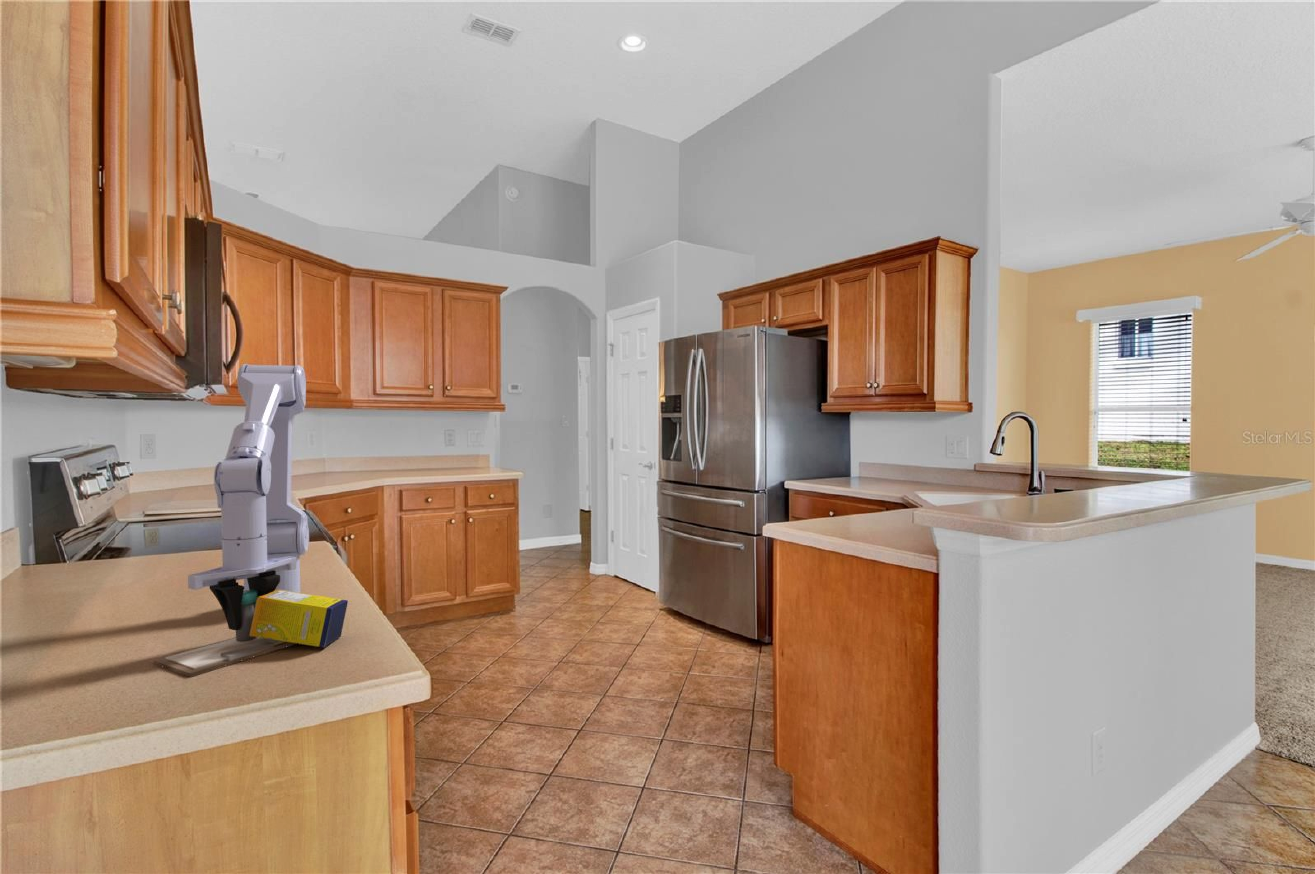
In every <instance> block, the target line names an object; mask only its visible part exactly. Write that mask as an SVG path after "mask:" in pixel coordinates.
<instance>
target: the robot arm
mask: <svg viewBox="0 0 1315 874" xmlns="http://www.w3.org/2000/svg"><path fill="white" fill-rule="evenodd" d="M305 372H306V371H305V369H304V368H303V367H302V366H301V365H300V364H295V365H276V364H274V365H271V364H270V365H265V364H261V365H260V364H248V363H242V364H241V366H240V367H239V368H238V371H237V376H236V377H237V378H236V380H237V389H238V390H237V391H238V393H239V395H240V396H241V398H242V400H243V403H244V404H245V406H246V407H245V415H244V422H241V423H239V424H238V425H236V426H235V427H234V429H233V431H232V434H231V438H230V443H229V445H228V449H227V452H226V456H225V458H224V459H223V460H222V461H219V462H217V463H216V464H215V468H214V471H213V472H214V473H213V485H214V490H215V494H216V497H217V499H216V501H217V508H218V509H221V510H220V512H221V513H220V515H221V517H220V518H221V520H220V521H221V553H222V554H221V556H222V557H221V558H222V560H221V562H222V563H221V564H222V566H220V567H215V568H212V569H209V570H205V571H201V572H197V573H191V574H188V575H187V586H188V589H190V590H195V591H198V590H202V589H203V588H205V587H209V590H210V591H211V592H212V594H213V595H214V597H215V598H216V599H217V601H218V603H219V605H220V608H221V609H222V612H223V614H224V616H225V619H226V623H227V627H228V630H233V631H236V630H240V629H241V603H242V596H243V591H245V590H257V591H258V597H260V596H263V595H266V594H268V593H271V592H273V591H275V590H278V589H280V590H286V591H292V592H298V593H301V574H300V573H301V567H300V566H301V564H300V563H301V562H300V559H301V558H300V557H301V556H304V555H305V553H307V551H308V549H309V545H310V544H309V543H310V529H309V524H308V519H309V518H308V516H307V514H306V512H305V511H303V510H302V509H301V508H298V507H297V506H296V505H294V504H292V502H291V501H292V465H293V464H292V460H293V459H292V457H293V454H292V453H293V426H294V423H295V422H294V421H295V418H296V416H297V415H299V414H302V413H303V412H305V407H306V401H307V399H306V396H307V395H306V394H307V380H306V373H305ZM289 520H293V521H289ZM267 521H269V522H267ZM270 521H278V522H270ZM279 521H282V522H279ZM284 521H285V522H284ZM239 580H243V585H240V584H239V582H238V581H239Z"/></svg>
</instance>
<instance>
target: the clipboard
mask: <svg viewBox="0 0 1315 874" xmlns="http://www.w3.org/2000/svg"><path fill="white" fill-rule="evenodd" d="M294 644H295V645H297V643H291V642H285V641H279V640H272V639H266V638H260V637H257V638H255V639H253V640H249V641H236V636H235V637H234V636H233V637H230V638H227V639H224V640H220V641H217V642H214V643H209V644H206V645H203V646H199V647H194V648H192V649H189V650H185V651H181V652H177V653H173V654H171V655H167V656H166V655H165V656H164V657H160V658H156V659H153V660H152V661H153V662H152V663H153V665H156V666H158V665H160V666H159V667H161V666H163V667H162V668H164V669H166V670H169V671H171V672H174V671H175V673H178V674H180V675H182V674H183V676H185V677H187V678H192V677H195V676H199V675H202V674H205V673H208V672H211V671H210V670H212V671H215V670H218V669H221V668H223V667H222V666H224V667H226V666H225V665H228V666H231V665H234V664H236V662H237V663H240V662H242V661H241V660H244V661H246V659H247V660H250V659H252V658H251V657H253V656H256V657H259V655H260V656H262V655H261V654H263V655H265V654H264V653H266V654H268V653H267V652H269V653H271V652H270V651H272V652H276V651H278V650H277V649H279V650H281V649H280V648H282V649H284V648H283V647H285V648H287V647H286V646H288V647H291V645H292V646H294ZM275 650H276V651H275ZM249 658H250V659H249ZM253 658H254V657H253ZM239 661H240V662H239ZM233 663H234V664H233ZM220 667H221V668H220ZM217 668H218V669H217ZM214 669H215V670H214Z"/></svg>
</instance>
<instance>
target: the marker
mask: <svg viewBox="0 0 1315 874" xmlns="http://www.w3.org/2000/svg"><path fill="white" fill-rule="evenodd" d="M257 598H258V591H257V590H245V591H243V596H242V603H241V629H240V630H235V637H236V641H249V640H253V639H255V638H257V637H252V636H250V630H251V625H252V621H253V616H254V611H255V606H256V601H257Z"/></svg>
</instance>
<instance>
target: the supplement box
mask: <svg viewBox="0 0 1315 874" xmlns="http://www.w3.org/2000/svg"><path fill="white" fill-rule="evenodd" d="M348 602H349V600H347V599H341V598H335V597H328V596H322V595H316V594H315V595H314V594H310V593H303V592H300V593H298V592H292V591H286V590H280V589H278V590H275V591H273V592H271V593H268V594H266V595H263V596H260V597H258V598H257V601H256V606H255V611H254V616H253V621H252V625H251V630H250V636H252V637H260V638H266V639H272V640H279V641H285V642H291V643H298V644H299V645H304V646H305V645H306V646H311V647H316V648H317V647H319V648H326V647H328V645H329V644H331V643H332V642H334V641H335V640H337V639H339V638H341V637H342V632H343V627H344V623H345V622H344V621H345V617H346V613H347V607H348Z"/></svg>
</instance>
